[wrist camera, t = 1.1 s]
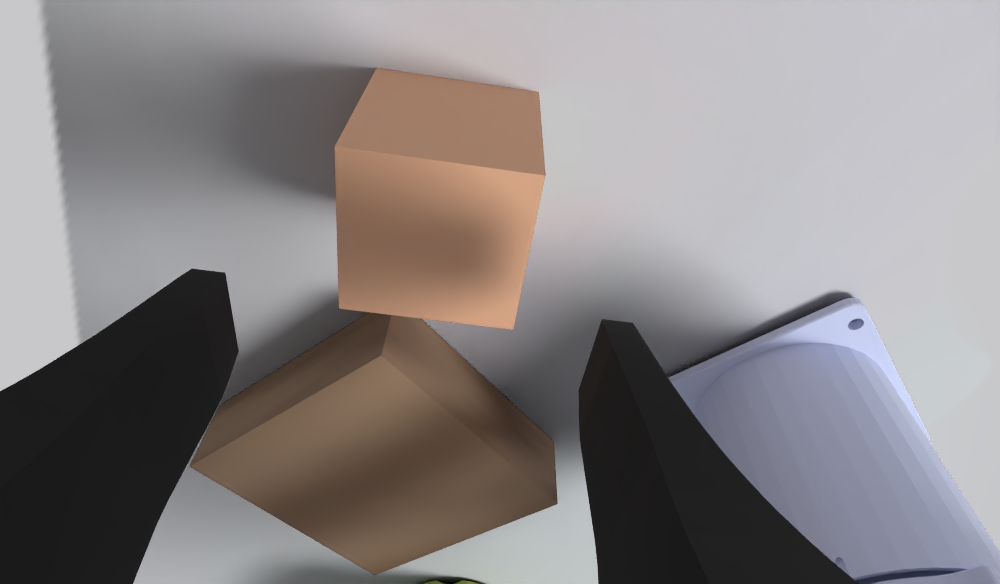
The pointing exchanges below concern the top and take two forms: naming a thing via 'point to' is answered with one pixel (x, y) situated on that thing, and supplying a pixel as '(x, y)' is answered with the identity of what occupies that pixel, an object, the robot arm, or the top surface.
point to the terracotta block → (438, 198)
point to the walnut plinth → (381, 446)
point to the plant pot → (461, 583)
